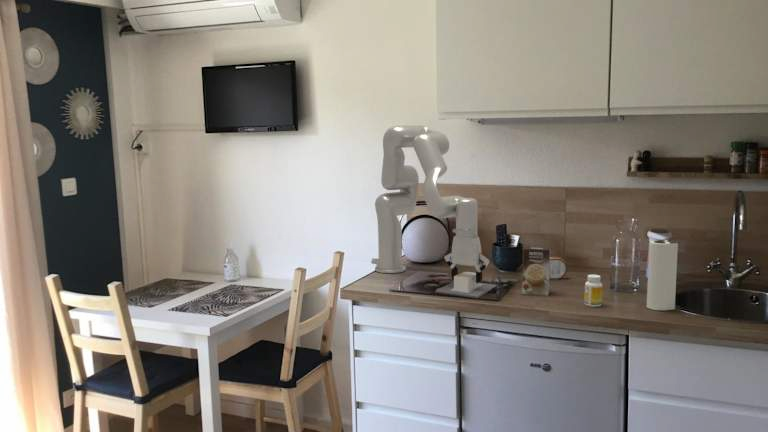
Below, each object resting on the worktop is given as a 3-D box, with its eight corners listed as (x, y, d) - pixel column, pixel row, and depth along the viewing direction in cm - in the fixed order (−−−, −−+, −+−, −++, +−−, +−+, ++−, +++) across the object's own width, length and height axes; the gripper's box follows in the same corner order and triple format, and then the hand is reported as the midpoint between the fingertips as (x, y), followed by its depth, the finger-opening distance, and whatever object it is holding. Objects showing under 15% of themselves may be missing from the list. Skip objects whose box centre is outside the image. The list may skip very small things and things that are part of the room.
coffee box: (521, 294, 224) (522, 248, 222) (522, 289, 230) (523, 245, 228) (548, 296, 221) (549, 249, 219) (549, 291, 227) (550, 246, 225)
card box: (465, 283, 237) (465, 271, 236) (479, 285, 234) (479, 272, 233) (453, 288, 229) (453, 275, 229) (467, 290, 226) (467, 277, 226)
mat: (435, 292, 228) (435, 290, 228) (456, 281, 243) (456, 279, 243) (477, 298, 220) (477, 295, 220) (497, 286, 235) (497, 284, 235)
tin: (566, 278, 247) (566, 256, 245) (567, 280, 243) (568, 258, 242) (525, 277, 248) (526, 256, 247) (526, 279, 245) (527, 257, 244)
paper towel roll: (642, 307, 206) (645, 241, 203) (654, 304, 209) (657, 239, 206) (662, 313, 199) (665, 244, 196) (674, 309, 203) (678, 242, 200)
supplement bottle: (581, 305, 210) (582, 276, 208) (588, 301, 213) (589, 273, 212) (597, 308, 206) (598, 278, 205) (604, 304, 210) (605, 275, 208)
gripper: (439, 232, 230) (440, 280, 232) (485, 236, 221) (485, 286, 223) (449, 229, 236) (449, 276, 239) (493, 233, 227) (493, 281, 230)
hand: (466, 280), depth 231 cm, fingers open, 8 cm apart
